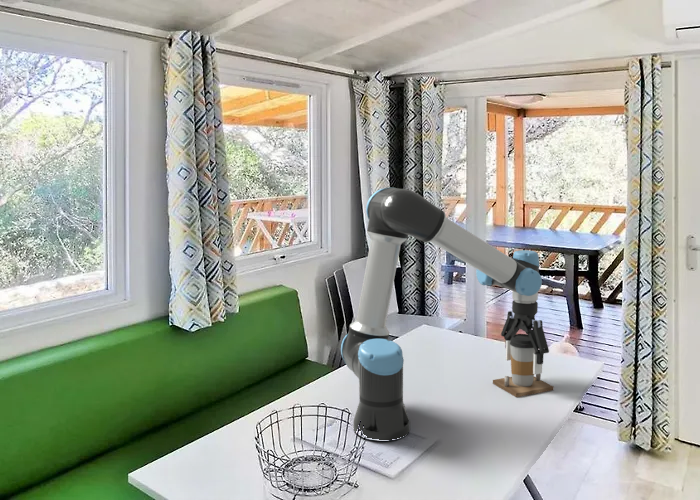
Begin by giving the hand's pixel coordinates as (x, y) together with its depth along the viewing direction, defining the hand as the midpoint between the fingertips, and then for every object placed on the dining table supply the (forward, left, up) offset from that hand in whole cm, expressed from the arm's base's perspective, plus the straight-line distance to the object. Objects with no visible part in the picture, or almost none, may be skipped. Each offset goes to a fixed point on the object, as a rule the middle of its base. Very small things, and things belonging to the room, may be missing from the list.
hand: (523, 366), depth 180 cm
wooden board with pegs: (0, 0, -7) cm, 7 cm away
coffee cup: (0, 0, -6) cm, 6 cm away
